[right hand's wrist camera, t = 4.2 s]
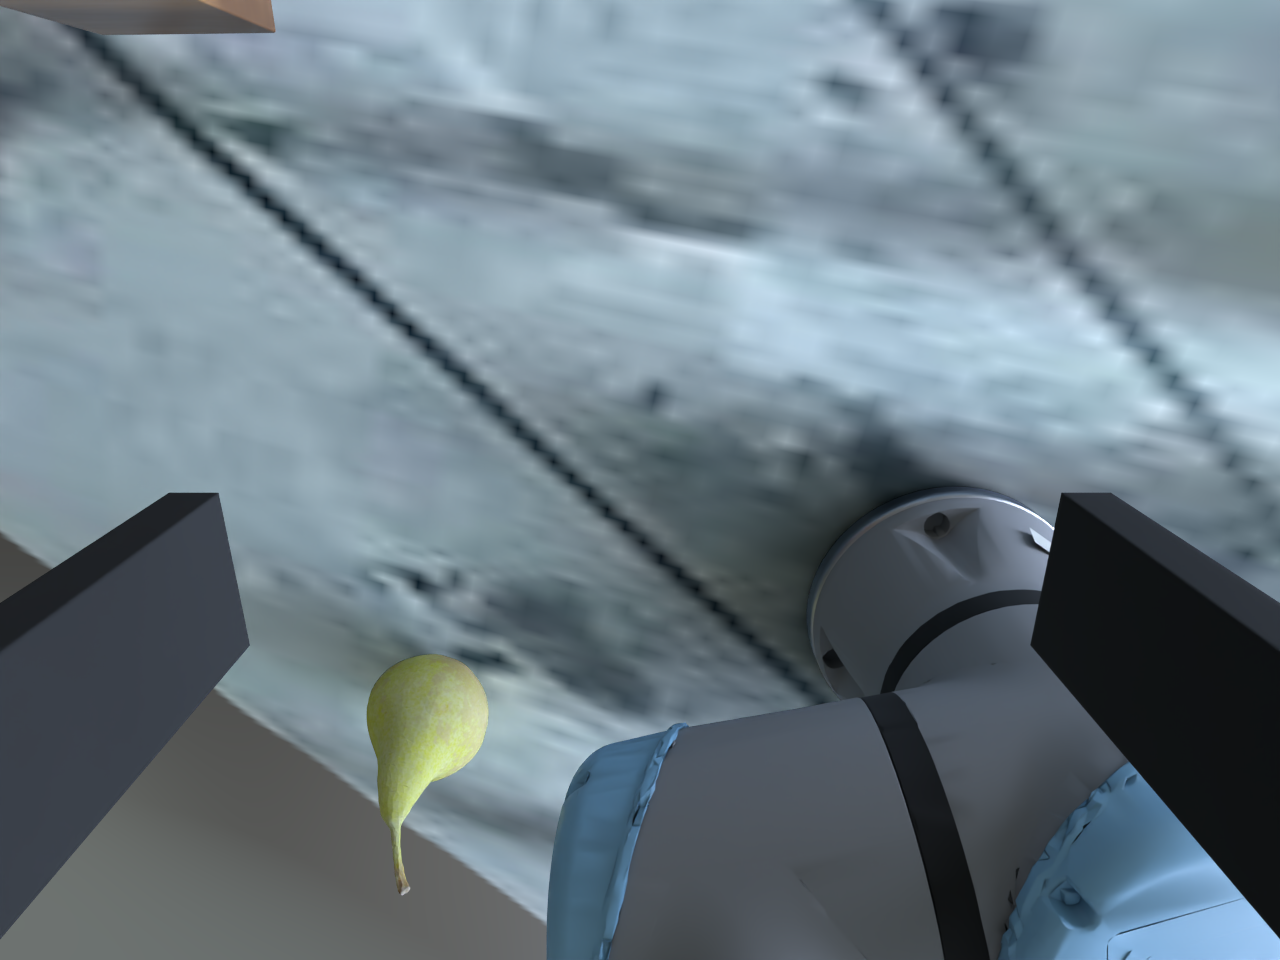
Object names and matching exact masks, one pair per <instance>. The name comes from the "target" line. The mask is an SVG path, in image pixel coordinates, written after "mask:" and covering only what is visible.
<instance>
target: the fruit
mask: <svg viewBox="0 0 1280 960" xmlns="http://www.w3.org/2000/svg"><path fill="white" fill-rule="evenodd" d="M487 724H488V703H487V698H486V695H485V692H484V689H483V687H482V685H481V684H480V682H479V681H478V679H477V678H476V676H475V675H474V674H473V672H472V671H471V670H470V669H469V668H468V667H467V666H466V665H465V664H463V663H462V662H460V661H458V660H455V659H453V658H450V657H446V656H443V655H437V654H428V655H420V656H415V657H411V658H408V659H406V660H403V661H401V662H399V663H397V664H395V665H393V666H392V667H390V668H389V669H388V670H387V671H386V672H385V673H384V674H383V675H382V676H381V677H380V678H379V679H378V681H377V682H376V683H375V685H374V687H373V689H372V691H371V694H370V697H369V701H368V705H367V726H368V732H369V736H370V739H371V742H372V745H373V748H374V751H375V753H376V756H377V760H378V778H377V782H378V796H379V806H380V812H381V816H382V818H383V820H384V821H385V823H386V824H387V825H388V827H389V828H390V831H391V840H392V846H393V860H394V869H395V877H396V883H397V888H398V892H399V893H400V894H401V895H403V894H405V893H407V892H408V891H409V890H410V886H409V884H408V882H407V881H406V878H405V874H404V867H403V864H402V859H401V849H400V828H401V824H402V822H403V820H404V819H405V818H406V816H407V815H408V813H409V811H410V810H411V807H412V806H413V805H414V804H415V802H416V801H417V799H418V798H419V796H420V795H421V793H422V792H423V791H424V789H425V788H426V787H427V786H428V784H429V783H430V782H433V781H437V780H440V779H442V778H445V777H447V776H449V775H451V774H453V773H455V772H457V771H458V770H460V769H461V768H462V767H464V766H465V765H466V764H467V763H468V762H469V761H470V760H471V759H472V758H473V757H474V756H475V755H476V753H477V752H478V750H479V749H480V746H481V744H482V742H483V739H484V736H485V733H486V728H487Z"/></svg>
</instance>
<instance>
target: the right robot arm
mask: <svg viewBox="0 0 1280 960" xmlns="http://www.w3.org/2000/svg"><path fill="white" fill-rule="evenodd" d="M807 630H808V636H809V640H810V644H811V647H812V650H813V653H814V656H815V658H816V661H817V664H818V666H819V668H820V671H821V673H822V675H823V677H824V678H825V680H826V682H827V683H828V685H829V686H830V688H831V689H832V690H833V692H834V693H835V694H836V695H837V696H838V698H839V699H840V701H835V702H830V703H824V704H819V705H814V706H809V707H803V708H798V709H793V710H787V711H781V712H775V713H769V714H763V715H757V716H751V717H746V718H740V719H734V720H728V721H722V722H716V723H710V724H704V725H698V726H692V727H689V726H688V725H687V724H686V723H678V724H674V725H673V726H671V727H670V728H669V729H668V730H667V731H664V732H660V733H655V734H651V735H647V736H643V737H638V738H634V739H630V740H626V741H621V742H617V743H613V744H609V745H607V746H604V747H602V748H600V749H598V750H597V751H595V752H594V753H592V754H591V755H590V756H589V757H588V758H587V759H586V760H585V761H584V763H583V764H582V765H581V766H580V767H579V769H578V770H577V772H576V774H575V775H574V777H573V779H572V781H571V784H570V786H569V789H568V791H567V794H566V798H565V802H564V804H563V806H562V809H561V813H560V817H559V822H558V827H557V832H556V837H555V842H554V848H553V855H552V863H551V872H550V882H549V893H548V910H547V960H1280V603H1279V602H1277V601H1276V600H1274V599H1273V598H1271V597H1270V596H1268V595H1267V594H1265V593H1264V592H1262V591H1260V590H1259V589H1257V588H1256V587H1254V586H1253V585H1251V584H1250V583H1248V582H1247V581H1245V580H1244V579H1242V578H1241V577H1239V576H1238V575H1236V574H1234V573H1233V572H1231V571H1230V570H1228V569H1227V568H1225V567H1224V566H1222V565H1221V564H1219V563H1218V562H1216V561H1215V560H1213V559H1211V558H1210V557H1208V556H1207V555H1205V554H1204V553H1202V552H1201V551H1199V550H1198V549H1196V548H1195V547H1193V546H1192V545H1190V544H1188V543H1187V542H1185V541H1184V540H1182V539H1181V538H1179V537H1178V536H1176V535H1175V534H1173V533H1172V532H1170V531H1169V530H1167V529H1165V528H1164V527H1162V526H1161V525H1159V524H1158V523H1156V522H1155V521H1153V520H1152V519H1150V518H1149V517H1147V516H1146V515H1144V514H1142V513H1141V512H1139V511H1138V510H1136V509H1135V508H1133V507H1132V506H1130V505H1129V504H1127V503H1126V502H1124V501H1123V500H1121V499H1119V498H1118V497H1116V496H1115V495H1113V494H1112V493H1061V498H1060V503H1059V508H1058V512H1057V517H1056V522H1055V527H1054V528H1053V527H1052V526H1051V525H1049V524H1048V523H1047V522H1046V521H1045V520H1043V519H1042V518H1041V517H1040V516H1038V515H1037V514H1036V513H1035V512H1034V511H1032V510H1031V509H1029V508H1028V507H1026V506H1025V505H1023V504H1022V503H1020V502H1018V501H1016V500H1014V499H1012V498H1010V497H1008V496H1005V495H1002V494H1000V493H997V492H993V491H989V490H985V489H979V488H973V487H960V486H956V487H939V488H931V489H926V490H921V491H917V492H913V493H910V494H907V495H904V496H901V497H899V498H896V499H893V500H891V501H889V502H887V503H885V504H883V505H881V506H879V507H877V508H876V509H874V510H872V511H871V512H869V513H868V514H866V515H865V516H863V517H862V518H861V519H859V520H858V521H857V522H855V523H854V524H853V525H852V526H851V527H850V528H849V529H847V530H846V531H845V532H844V533H843V535H842V536H841V537H840V538H839V539H838V540H837V541H836V542H835V544H834V545H833V546H832V547H831V549H830V550H829V551H828V553H827V554H826V556H825V558H824V559H823V561H822V562H821V564H820V566H819V568H818V570H817V572H816V575H815V577H814V580H813V582H812V586H811V589H810V593H809V598H808V604H807ZM249 646H250V644H249V639H248V634H247V629H246V624H245V619H244V615H243V610H242V605H241V600H240V595H239V590H238V585H237V581H236V576H235V571H234V566H233V561H232V556H231V551H230V547H229V542H228V537H227V532H226V527H225V522H224V517H223V513H222V508H221V503H220V498H219V493H168V494H167V495H165V496H164V497H162V498H161V499H159V500H157V501H156V502H154V503H153V504H151V505H150V506H148V507H147V508H145V509H144V510H142V511H141V512H139V513H138V514H136V515H134V516H133V517H131V518H130V519H128V520H127V521H125V522H124V523H122V524H121V525H119V526H118V527H116V528H115V529H113V530H111V531H110V532H108V533H107V534H105V535H104V536H102V537H101V538H99V539H98V540H96V541H95V542H93V543H92V544H90V545H88V546H87V547H85V548H84V549H82V550H81V551H79V552H78V553H76V554H75V555H73V556H72V557H70V558H69V559H67V560H65V561H64V562H62V563H61V564H59V565H58V566H56V567H55V568H53V569H52V570H50V571H49V572H47V573H46V574H44V575H43V576H41V577H39V578H38V579H36V580H35V581H33V582H32V583H30V584H29V585H27V586H26V587H24V588H23V589H21V590H20V591H18V592H17V593H15V594H13V595H12V596H10V597H9V598H7V599H6V600H4V601H3V602H1V603H0V939H1V938H2V936H3V935H4V934H5V933H6V932H7V931H8V929H9V928H10V927H11V926H12V925H13V923H14V922H15V921H16V920H17V919H18V918H19V916H20V915H21V914H22V913H23V912H24V911H25V909H26V908H27V907H28V906H29V905H30V903H31V902H32V901H33V900H34V899H35V898H36V896H37V895H38V894H39V893H40V892H41V890H42V889H43V888H44V887H45V886H46V885H47V883H48V882H49V881H50V880H51V879H52V877H53V876H54V875H55V874H56V873H57V872H58V870H59V869H60V868H61V867H62V866H63V865H64V863H65V862H66V861H67V860H68V859H69V858H70V856H71V855H72V854H73V853H74V852H75V850H76V849H77V848H78V847H79V846H80V845H81V843H82V842H83V841H84V840H85V839H86V838H87V836H88V835H89V834H90V833H91V832H92V830H93V829H94V828H95V827H96V826H97V825H98V823H99V822H100V821H101V820H102V819H103V817H104V816H105V815H106V814H107V813H108V812H109V810H110V809H111V808H112V807H113V806H114V805H115V803H116V802H117V801H118V800H119V799H120V797H121V796H122V795H123V794H124V793H125V792H126V790H127V789H128V788H129V787H130V786H131V784H132V783H133V782H134V781H135V780H136V779H137V777H138V776H139V775H140V774H141V773H142V772H143V770H144V769H145V768H146V767H147V766H148V764H149V763H150V762H151V761H152V760H153V759H154V757H155V756H156V755H157V754H158V753H159V752H160V750H161V749H162V748H163V747H164V746H165V744H166V743H167V742H168V741H169V740H170V739H171V737H172V736H173V735H174V734H175V733H176V732H177V730H178V729H179V728H180V727H181V726H182V724H183V723H184V722H185V721H186V720H187V719H188V717H189V716H190V715H191V714H192V713H193V712H194V710H195V709H196V708H197V707H198V706H199V704H200V703H201V702H202V701H203V700H204V699H205V697H206V696H207V695H208V694H209V693H210V691H211V690H212V689H213V688H214V687H215V686H216V684H217V683H218V682H219V681H220V680H221V679H222V677H223V676H224V675H225V674H226V673H227V671H228V670H229V669H230V668H231V667H232V666H233V664H234V663H235V662H236V661H237V660H238V659H239V657H240V656H241V655H242V654H243V653H244V651H245V650H246V649H247V648H248V647H249Z"/></svg>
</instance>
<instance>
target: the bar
mask: <svg viewBox="0 0 1280 960" xmlns="http://www.w3.org/2000/svg"><path fill="white" fill-rule="evenodd" d="M0 6H2V7H5V8H9V9H13V10H16V11H20V12H23V13H27V14H30V15H34V16H37V17H41V18H44V19H48V20H52V21H55V22H59V23H62V24H66V25H69V26H73V27H76V28H80V29H84V30H87V31H91V32H94V33H98V34H101V35H140V34H216V33H274V32H275V24H274V18H273V11H272V5H271V0H0Z"/></svg>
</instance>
